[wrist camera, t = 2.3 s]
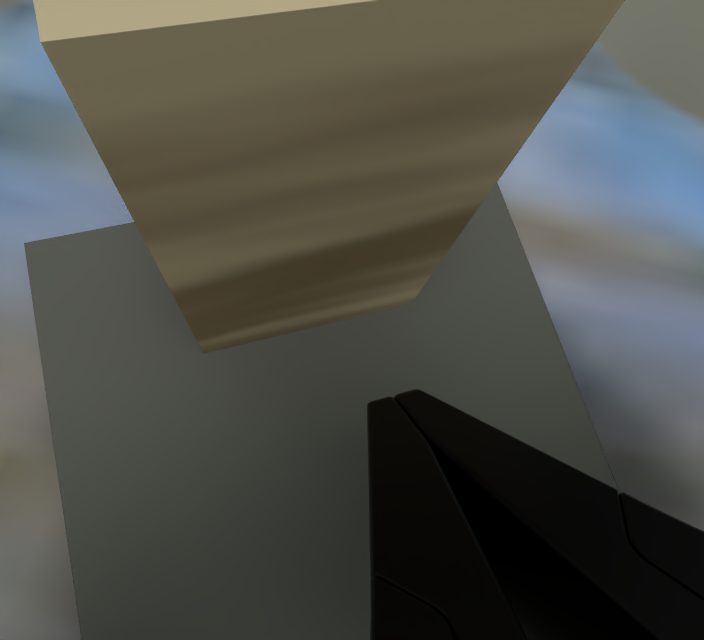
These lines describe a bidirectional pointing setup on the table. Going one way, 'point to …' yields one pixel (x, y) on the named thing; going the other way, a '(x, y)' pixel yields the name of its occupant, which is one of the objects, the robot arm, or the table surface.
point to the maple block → (308, 138)
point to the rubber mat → (267, 432)
